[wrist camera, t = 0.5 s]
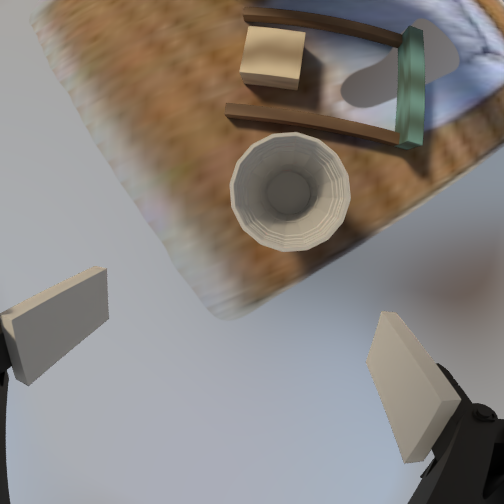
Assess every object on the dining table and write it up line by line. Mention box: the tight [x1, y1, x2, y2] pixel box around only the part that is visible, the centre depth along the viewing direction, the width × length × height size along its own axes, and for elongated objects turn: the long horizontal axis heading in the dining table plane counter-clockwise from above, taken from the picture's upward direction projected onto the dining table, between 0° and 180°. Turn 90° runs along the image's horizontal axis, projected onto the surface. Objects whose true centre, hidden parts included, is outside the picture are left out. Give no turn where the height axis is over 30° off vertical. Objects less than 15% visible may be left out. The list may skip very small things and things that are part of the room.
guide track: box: [224, 7, 425, 150], centre depth 31 cm, size 17×24×5 cm
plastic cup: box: [230, 132, 351, 252], centre depth 32 cm, size 11×11×12 cm
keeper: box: [240, 26, 305, 91], centre depth 32 cm, size 7×7×4 cm
